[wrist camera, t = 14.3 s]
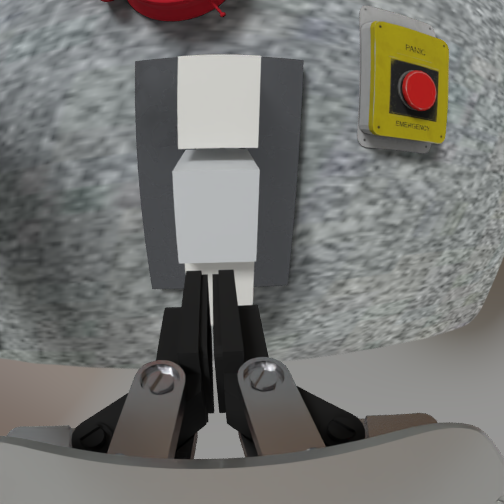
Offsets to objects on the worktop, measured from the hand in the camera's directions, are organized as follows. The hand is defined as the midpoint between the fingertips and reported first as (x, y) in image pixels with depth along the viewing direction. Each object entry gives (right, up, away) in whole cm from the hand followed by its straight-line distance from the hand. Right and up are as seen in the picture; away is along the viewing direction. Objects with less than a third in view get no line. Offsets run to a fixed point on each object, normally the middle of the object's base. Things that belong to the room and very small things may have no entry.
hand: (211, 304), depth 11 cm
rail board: (-2, +9, +17) cm, 19 cm away
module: (-2, +8, +15) cm, 17 cm away
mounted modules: (-1, +8, +15) cm, 16 cm away
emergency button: (+16, +19, +14) cm, 29 cm away
